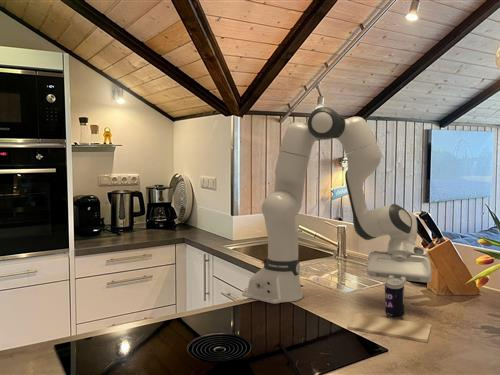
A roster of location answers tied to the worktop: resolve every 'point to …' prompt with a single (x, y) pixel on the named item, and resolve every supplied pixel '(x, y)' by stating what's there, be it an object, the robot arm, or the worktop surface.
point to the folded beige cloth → (390, 327)
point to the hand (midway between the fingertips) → (396, 289)
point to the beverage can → (394, 298)
